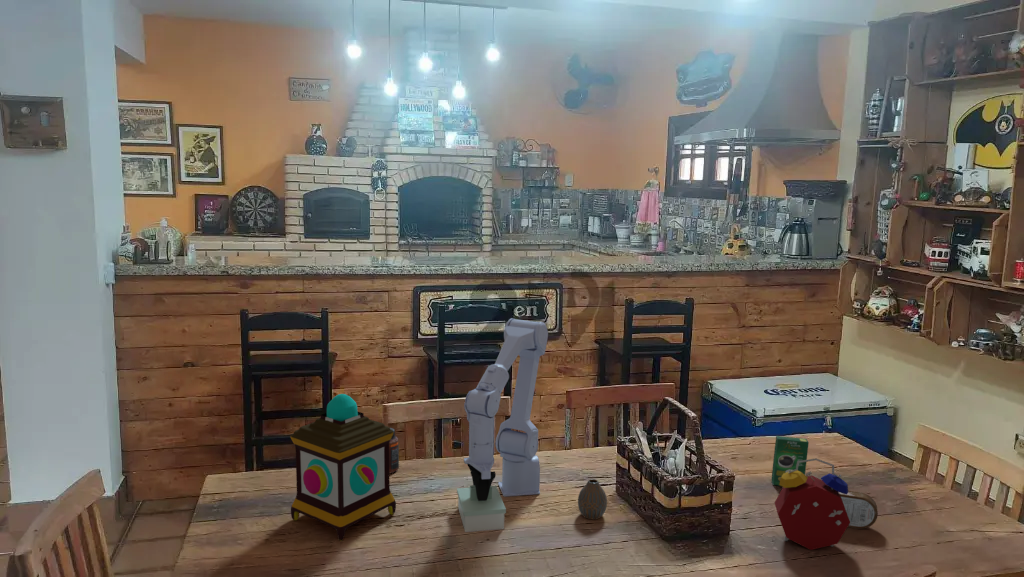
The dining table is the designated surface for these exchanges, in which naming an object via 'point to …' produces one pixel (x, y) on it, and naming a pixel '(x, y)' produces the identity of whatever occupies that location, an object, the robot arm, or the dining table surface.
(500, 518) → the tub
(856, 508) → the tin
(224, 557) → the dining table surface
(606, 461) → the dining table surface
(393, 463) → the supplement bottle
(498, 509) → the lid
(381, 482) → the decorative lantern
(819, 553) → the dining table surface
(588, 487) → the vase
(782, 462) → the coffee box
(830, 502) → the alarm clock
